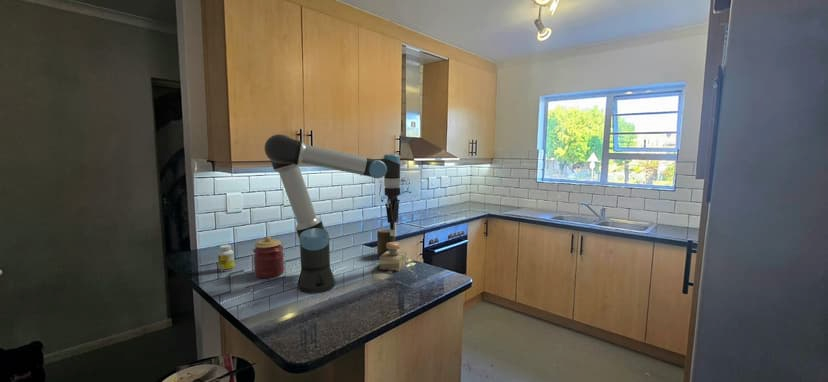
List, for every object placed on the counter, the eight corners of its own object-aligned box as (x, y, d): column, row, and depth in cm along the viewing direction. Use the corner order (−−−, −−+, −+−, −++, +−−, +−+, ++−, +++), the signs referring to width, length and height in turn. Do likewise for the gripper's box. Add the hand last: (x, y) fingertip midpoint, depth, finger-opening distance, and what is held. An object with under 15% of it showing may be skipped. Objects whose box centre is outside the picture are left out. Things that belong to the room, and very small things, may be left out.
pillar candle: (391, 258, 181) (391, 230, 180) (374, 256, 184) (374, 229, 183) (398, 253, 190) (398, 226, 189) (381, 251, 194) (381, 225, 192)
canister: (247, 276, 157) (245, 238, 155) (268, 267, 169) (266, 231, 167) (270, 280, 152) (268, 241, 150) (290, 270, 164) (288, 234, 162)
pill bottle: (217, 269, 166) (215, 246, 164) (231, 266, 170) (230, 243, 169) (222, 273, 161) (220, 248, 160) (236, 269, 166) (235, 245, 164)
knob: (396, 261, 165) (396, 246, 164) (384, 260, 167) (384, 244, 166) (401, 257, 171) (401, 242, 170) (389, 256, 173) (389, 241, 172)
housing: (399, 271, 163) (399, 258, 163) (379, 268, 166) (379, 256, 166) (406, 264, 173) (406, 252, 172) (387, 262, 176) (387, 250, 175)
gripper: (394, 189, 157) (395, 239, 160) (404, 185, 169) (405, 232, 173) (379, 188, 159) (380, 238, 163) (390, 185, 172) (390, 231, 175)
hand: (393, 235), depth 168 cm, fingers closed
